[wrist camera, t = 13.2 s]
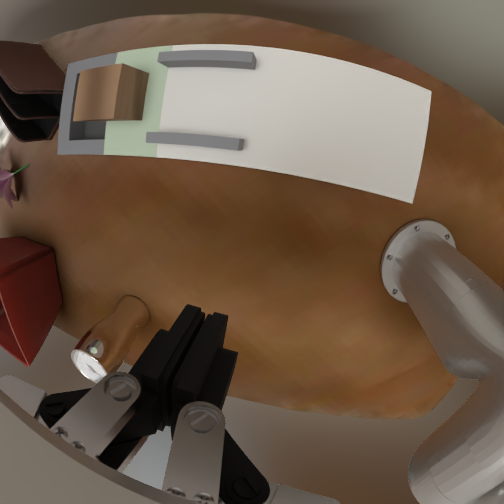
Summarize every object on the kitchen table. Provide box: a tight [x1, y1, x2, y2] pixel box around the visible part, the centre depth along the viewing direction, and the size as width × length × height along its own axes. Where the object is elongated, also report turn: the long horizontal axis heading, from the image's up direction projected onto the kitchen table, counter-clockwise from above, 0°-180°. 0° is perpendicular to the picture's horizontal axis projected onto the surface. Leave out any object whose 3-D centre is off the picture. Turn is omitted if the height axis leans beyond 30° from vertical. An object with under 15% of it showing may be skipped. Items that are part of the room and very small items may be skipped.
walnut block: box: [73, 63, 149, 121], centre depth 24 cm, size 6×6×6 cm
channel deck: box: [57, 44, 431, 204], centre depth 26 cm, size 48×14×7 cm, turn 82°
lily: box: [0, 164, 29, 210], centre depth 33 cm, size 12×12×10 cm
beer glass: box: [71, 296, 150, 383], centre depth 37 cm, size 7×7×15 cm
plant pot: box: [0, 237, 62, 367], centre depth 37 cm, size 19×19×17 cm
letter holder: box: [0, 41, 66, 142], centre depth 23 cm, size 10×20×14 cm, turn 43°
